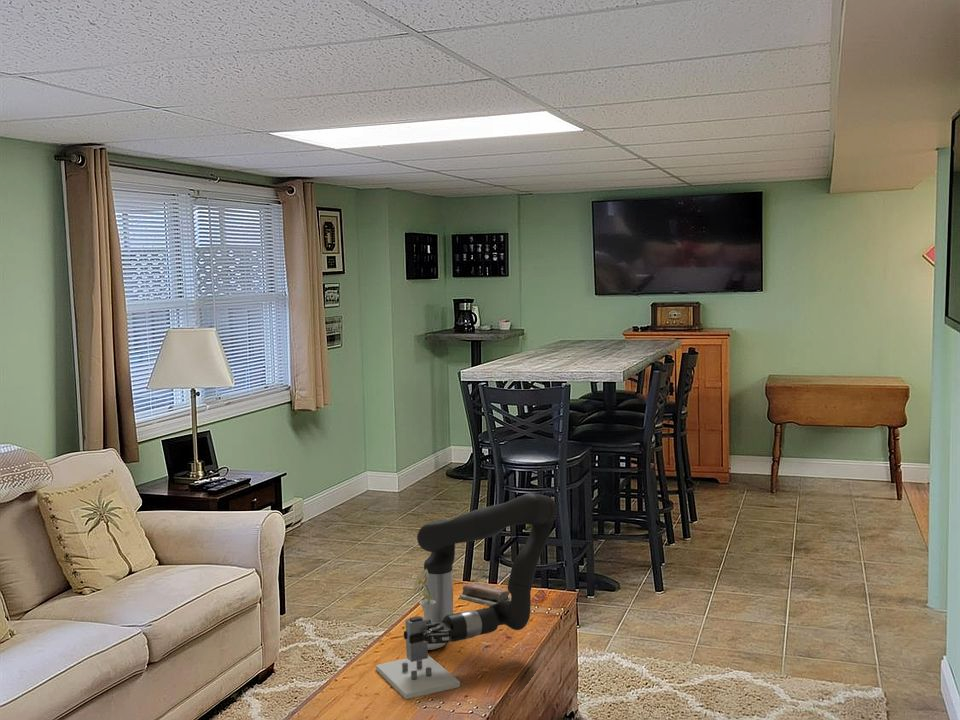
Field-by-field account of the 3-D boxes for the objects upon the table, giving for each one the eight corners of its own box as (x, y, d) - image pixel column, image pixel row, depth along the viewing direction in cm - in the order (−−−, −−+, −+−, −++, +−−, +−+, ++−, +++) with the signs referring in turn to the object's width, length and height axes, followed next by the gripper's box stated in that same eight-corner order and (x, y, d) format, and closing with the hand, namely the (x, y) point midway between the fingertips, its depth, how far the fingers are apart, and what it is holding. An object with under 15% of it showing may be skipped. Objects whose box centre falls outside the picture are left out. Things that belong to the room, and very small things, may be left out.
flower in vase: (411, 639, 293) (409, 560, 291) (448, 639, 293) (446, 560, 291) (407, 655, 280) (405, 573, 278) (445, 655, 280) (443, 573, 278)
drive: (406, 658, 264) (405, 618, 263) (423, 654, 266) (421, 614, 265) (411, 662, 261) (409, 621, 260) (427, 658, 263) (426, 618, 262)
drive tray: (375, 669, 270) (375, 658, 270) (427, 659, 278) (426, 647, 277) (405, 699, 251) (405, 686, 251) (459, 686, 258) (459, 674, 258)
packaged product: (458, 586, 330) (475, 578, 338) (458, 599, 331) (476, 592, 339) (499, 595, 319) (516, 588, 327) (499, 609, 320) (516, 601, 328)
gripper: (451, 605, 276) (396, 616, 268) (473, 620, 263) (416, 632, 255) (452, 630, 276) (397, 642, 268) (474, 646, 264) (417, 659, 256)
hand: (407, 637), depth 262 cm, fingers closed on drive, 3 cm apart
